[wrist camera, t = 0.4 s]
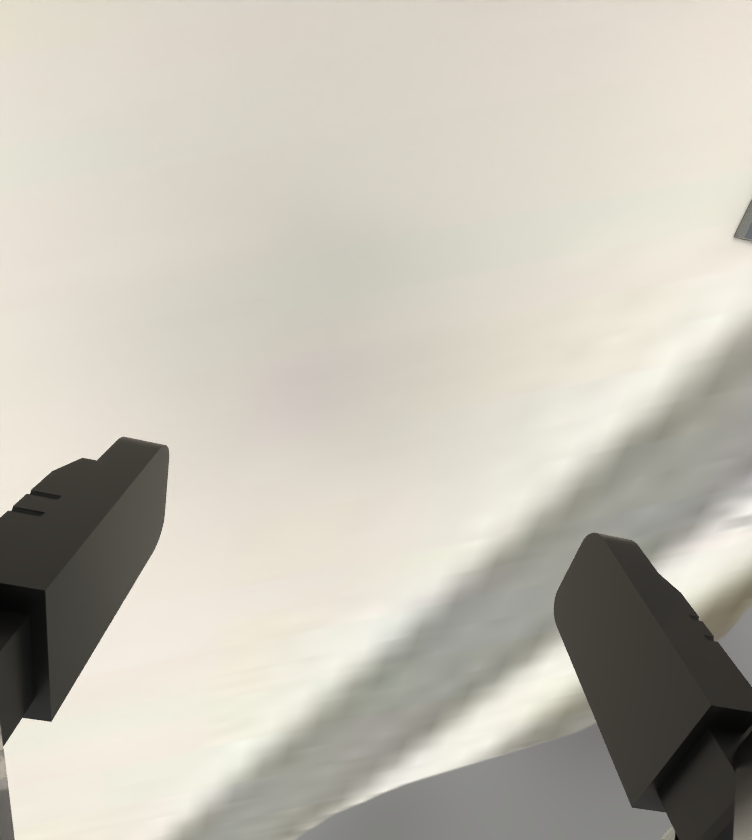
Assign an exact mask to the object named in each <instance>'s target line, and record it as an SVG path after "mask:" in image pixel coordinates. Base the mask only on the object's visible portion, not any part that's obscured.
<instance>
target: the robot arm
mask: <svg viewBox="0 0 752 840" xmlns="http://www.w3.org/2000/svg"><path fill="white" fill-rule="evenodd" d="M168 465H169V449H168V447H167V446H166V445H162V444H157V443H152V442H147V441H142V440H137V439H132V438H127V437H121V438H119V439H118V440H117V441H116V442H115V443H114V444H113V445H112V446H111V447H110V448H109V449H108V450H107V451H106V452H105V453H104V454H103V455H102V456H101V457H100V458H99V459H98V460H97V461H96V460H91V459H85V458H81V459H79V460H77V461H74V462H72V463H70V464H68V465H65V466H63V467H61V468H58V469H56V470H54V471H52V472H51V473H50V474H49V475H47V476H46V477H45V478H44V479H43V480H42V481H41V482H40V483H39V484H37V485H36V486H35V487H34V488H33V489H32V490H31V493H30V495H29V494H26V495H25V496H24V497H23V498H22V499H21V500H19V501H18V502H17V503H16V504H15V505H14V506H13V509H12V511H7V512H6V513H5V514H4V515H3V516H2V517H0V840H15V839H14V831H13V822H12V814H11V806H10V797H9V789H8V781H7V772H6V764H5V756H4V751H3V746H4V745H5V743H6V742H7V740H8V739H9V737H10V736H11V734H12V733H13V731H14V729H15V728H16V726H17V725H18V723H19V722H20V720H21V719H22V718H29V719H36V720H43V721H50V722H51V721H52V720H53V718H54V716H55V715H56V713H57V711H58V710H59V708H60V706H61V705H62V703H63V701H64V700H65V698H66V696H67V695H68V693H69V691H70V690H71V688H72V686H73V685H74V683H75V681H76V680H77V678H78V676H79V675H80V673H81V671H82V670H83V668H84V666H85V665H86V663H87V661H88V660H89V658H90V656H91V655H92V653H93V651H94V650H95V648H96V646H97V645H98V643H99V641H100V640H101V638H102V636H103V635H104V633H105V631H106V630H107V628H108V626H109V625H110V623H111V621H112V620H113V618H114V616H115V615H116V613H117V611H118V610H119V608H120V606H121V605H122V603H123V601H124V600H125V598H126V596H127V595H128V593H129V591H130V590H131V588H132V586H133V585H134V583H135V581H136V580H137V578H138V576H139V575H140V573H141V571H142V570H143V568H144V566H145V565H146V563H147V561H148V560H149V558H150V556H151V555H152V553H153V551H154V549H155V547H156V545H157V543H158V540H159V537H160V534H161V531H162V527H163V523H164V516H165V504H166V491H167V478H168ZM554 617H555V622H556V625H557V628H558V630H559V633H560V635H561V638H562V640H563V642H564V645H565V647H566V650H567V652H568V654H569V657H570V659H571V662H572V664H573V666H574V669H575V671H576V674H577V676H578V679H579V681H580V683H581V686H582V688H583V691H584V693H585V695H586V698H587V700H588V703H589V705H590V707H591V710H592V712H593V715H594V717H595V719H596V722H597V724H598V727H599V729H600V732H601V734H602V736H603V739H604V741H605V744H606V746H607V748H608V751H609V753H610V756H611V758H612V760H613V763H614V765H615V768H616V770H617V772H618V775H619V777H620V780H621V782H622V785H623V787H624V789H625V792H626V794H627V797H628V799H629V801H630V804H631V806H632V808H639V809H646V810H653V811H660V812H666V813H667V815H668V817H669V820H670V822H671V824H672V825H671V826H670V827H669V828H668V830H667V831H666V832H665V834H664V836H663V837H662V840H752V687H751V685H750V684H749V683H748V681H747V680H746V679H745V678H744V676H743V675H742V673H741V672H740V671H739V670H738V668H737V667H736V666H735V664H734V663H733V661H732V660H731V659H730V658H729V656H728V655H727V653H726V652H725V651H724V649H723V648H722V647H721V646H720V644H719V643H718V642H715V641H714V640H713V638H714V636H713V635H712V634H711V632H710V631H709V630H708V628H707V627H706V626H705V624H704V623H703V622H702V621H699V620H698V618H699V616H698V615H697V614H696V612H695V611H694V610H693V608H692V607H691V606H690V604H689V603H688V602H687V600H686V599H685V598H684V596H683V595H682V594H681V593H680V592H679V591H678V590H677V589H676V588H675V587H673V586H672V585H671V584H670V583H669V582H668V581H667V580H665V579H664V578H663V577H662V576H661V575H660V574H659V573H658V572H657V571H656V569H655V568H654V567H653V565H652V564H651V562H650V561H649V560H648V558H647V557H646V556H645V554H644V553H643V552H642V550H641V549H640V547H639V546H638V545H637V544H636V543H635V542H634V541H632V540H628V539H623V538H618V537H613V536H608V535H603V534H598V533H591V534H589V535H588V536H586V537H585V539H584V540H583V542H582V544H581V546H580V548H579V549H578V551H577V553H576V555H575V557H574V559H573V561H572V563H571V565H570V567H569V569H568V571H567V573H566V575H565V577H564V579H563V581H562V583H561V585H560V587H559V589H558V591H557V593H556V597H555V602H554Z"/></svg>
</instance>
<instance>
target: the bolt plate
mask: <svg viewBox="0 0 752 840" xmlns="http://www.w3.org/2000/svg"><path fill="white" fill-rule="evenodd" d="M734 237H737V238H741V239H745V240H749V241H752V201H751V203H750V205H749V207H748V209H747V211H746V213H745V215H744V217H743V219H742V221H741V223H740V225H739V227H738V229H737V231H736V233H735V236H734Z"/></svg>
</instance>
